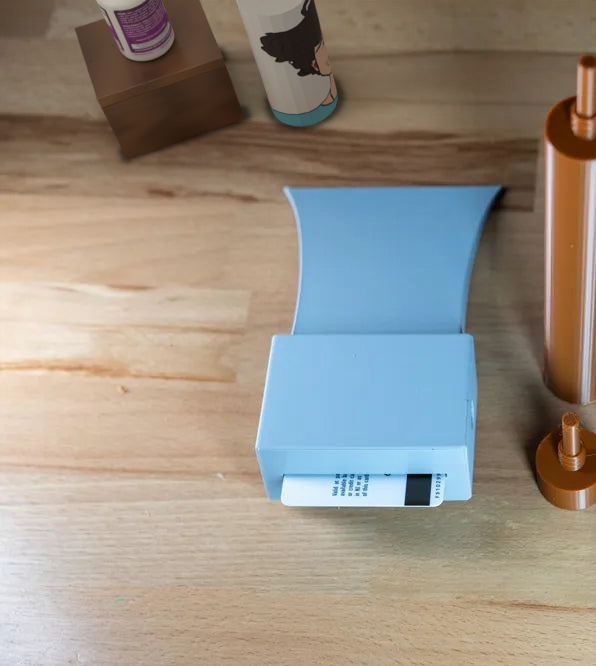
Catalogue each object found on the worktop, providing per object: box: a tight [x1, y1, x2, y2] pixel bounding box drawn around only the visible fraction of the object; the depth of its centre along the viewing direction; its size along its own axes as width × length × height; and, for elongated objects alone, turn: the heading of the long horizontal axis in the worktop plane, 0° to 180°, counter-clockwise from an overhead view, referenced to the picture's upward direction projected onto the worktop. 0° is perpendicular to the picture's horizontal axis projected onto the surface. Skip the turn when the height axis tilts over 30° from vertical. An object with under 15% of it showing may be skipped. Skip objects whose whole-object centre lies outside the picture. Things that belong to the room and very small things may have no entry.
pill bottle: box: [95, 0, 174, 61], centre depth 107 cm, size 5×5×10 cm
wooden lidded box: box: [74, 0, 246, 160], centre depth 115 cm, size 12×10×9 cm
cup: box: [235, 0, 339, 127], centre depth 111 cm, size 7×7×15 cm
